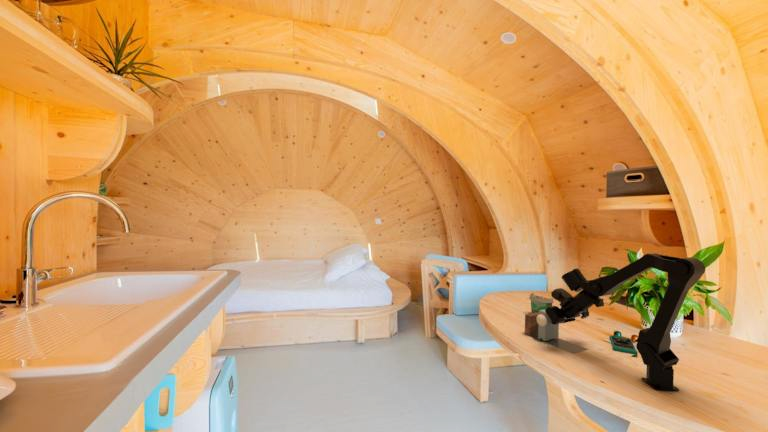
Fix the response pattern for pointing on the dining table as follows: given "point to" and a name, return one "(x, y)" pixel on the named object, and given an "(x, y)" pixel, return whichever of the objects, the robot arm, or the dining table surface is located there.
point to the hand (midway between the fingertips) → (552, 323)
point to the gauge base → (560, 344)
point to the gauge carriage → (546, 327)
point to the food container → (539, 303)
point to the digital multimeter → (623, 345)
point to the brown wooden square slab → (531, 324)
